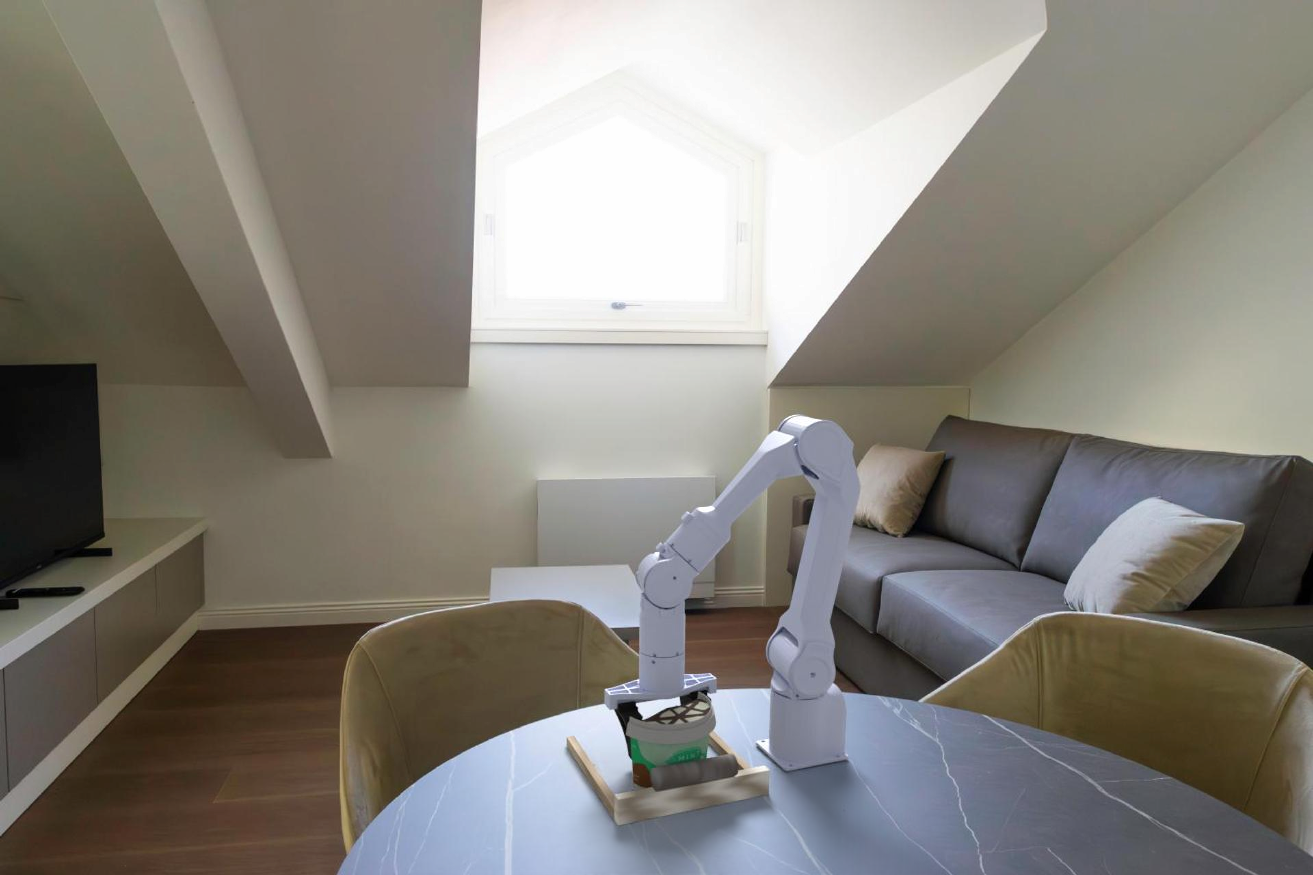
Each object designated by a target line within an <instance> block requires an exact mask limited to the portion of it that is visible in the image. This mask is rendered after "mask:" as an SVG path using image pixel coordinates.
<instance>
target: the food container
mask: <svg viewBox="0 0 1313 875" xmlns="http://www.w3.org/2000/svg"><path fill="white" fill-rule="evenodd" d="M707 696H708V695H707ZM707 696H705V695H704V694H702V693H700V692H698V698H697V700H694V701H692V702H690V703H687V704H684V705H680V704H679V705H675V706H670V707H665V708H664V709H662V710H659V712H656V713H654V714H653V715H651V716H649V717H647V718H644V719H642V720H641V721H640V720H637V719H634V718H632V717H630V720H629V722H628V725H627V731H626V735H627V736H629V737H630V738H631V754H632V760H631V766H632V768H631V769H632V783H633V784H632V785H633V791H635V790H640V789H645V788H650V787H652V784H651V778H650V772H651V769H652V768H656V767H662V766H667V765H673V764H678V763H684V762H689V761H695V760H700V759H705V758H708V757H707V756H708V750H709V743H708V741H709V734H710V733H711V732H712V731H714V730H715V729H716V725H717V719H716V714H715V708H714V705H712V704H713V703H712V700H711V701H710V699H709V698H708V697H709V696H708V697H707Z"/></svg>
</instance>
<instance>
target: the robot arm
mask: <svg viewBox="0 0 1313 875" xmlns="http://www.w3.org/2000/svg"><path fill="white" fill-rule="evenodd" d="M854 445H855V444H854V442H853V441H852V440H851V439H850V437H849V436H848V434H846V432H845V431H844V430H843V428H841V426H840V425H839V424H837V423H836V422H834V421H831V420H829V419H828V420H827V419H818V418H813V417H810V416H808V415H804V414H793V415H790V416H788V417H786V418H785V419H783V420H782V421H781V422H780V424H779V425H778V427H777V428H776V430H773V431H771V432H770V433H769V434H767V436H766V437H765V439H764V440H763V442H762V443H761V444H760V446H759V447H758V449H757V450H756V451H755V452H754V454H753V455H752V456H751V457H750V459H749V460H747V462H746V463H745V465H744V466H743V467H742V468H741V470H739V472H738V473H737V474H736V475H735V477H733V479H732V480H731V481H730V483H729V484H727V486H726V488H725V489H724V490H723V491H722V492H721V493H720V495H719V496H718V497H717V498H716V499H715V500H714V502H713V503H712V505H709V506H702V507H696V508H695V509H694V510H693V511H692V512H691V513H690V512H689V511H685V512H684V514H682V516H681V517H680V520H681V521H682V523H681V524H680V525H679V526H678V528H676V529H675V531H673V533H672V534H671V535H670V536H669V537H668V538H667V539H666V541H665V542H663V543H662V542H659V543H658V544H657V545H656V546H655V550H656V552H654V553H649V554H647V555H646V556H645V557H644V558H642V561H641V562H640V563H639V565H638V567H637V569H638V570H637V571H636V572H635V573H634V576H635V581H636V583H637V586H638V587H639V589H640V590H641V593H640V603H639V604H640V606H639V608H640V612H639V620H638V621H639V627H638V628H639V631H638V632H639V636H638V637H639V640H638V643H639V646H638V647H639V648H638V649H639V650H638V653H639V654H638V657H639V659H638V678H637V679H635V680H632V681H629V682H625V683H623V684H619V685H617V686H613V687H609V688H604V699H603V700H604V705H605V706H606V707H607V709H608V710H609V711H612V710H613V711H614V713H615V715H616V717H617V719H618V722H619V725H620V726H621V730H622V733H623V736H624V740H625V744H626V748H627V749H626V750H627V756H628V757H629V759H630V760H631V761H632V754H631V738H630V737H629V736H627V735H626V731H627V725H628V722H629V720H630V717H632V718H634V719H637V720H640V721H641V720H644V719H643V718H644V716H643V715H642V713H640V711H639V706H638V705H637V704H640V703H647V702H652V701H653V702H654V701H659V700H660V701H661V700H670V699H676V698H679V706H680V705H684V704H687V703H690V702H692V701H694V700H697V698H698V692H700V693H702V694H704V695H705V696H707V697H708V698H709V699H710V701H711V702H712V698H711V697H710V696H709V695H711V694H717V691H718V690H717V689H718V688H717V683H718V680H717V679H718V678H717V677H716V676H714V675H712V673H698V674H693V673H691V674H689V673H688V674H687V673H685V672H686V671H685V668H686V667H685V662H686V661H685V659H686V656H685V655H686V654H685V653H686V651H685V650H686V647H685V645H686V613H685V608H686V606H685V604H686V603H685V600H687V599H689V597H690V595H691V593H692V590H693V580H694V578H696V577H697V576H699V575H700V573H701V572H702V571H703V570H704V569H705V567H707V565H708V564H709V563H710V562H711V561H712V560H713V559H714V558H715V557H716V555H718V553H720V551H721V550H722V549H723V548H724V547H725V546H726V545H727V543H729V541H730V540H731V536H732V535H731V534H732V533H731V531H732V530H731V528H732V524H733V523H734V522H735V520H737V519H738V518H739V516H741V515H742V514H743V513H744V512H745V511H746V510H747V509H748V508H749V507H750V506H751V505H752V504H753V503H754V502H755V501H756V500H757V499H758V498H759V497H760V496H761V495H762V494H763V493H764V492H765V491H766V490H767V489H768V488H769V487H770V486H771V485H772V484H773V483H775V481H777V480H781V479H786V478H792V477H799V476H804V477H805V479H806V480H807V481H808V483H809V484H810V486H811V487H812V489H813V490H814V492H815V496H814V501H813V505H812V510H811V513H810V517H809V522H808V526H807V531H806V536H805V539H804V542H803V543H804V545H803V549H802V552H801V557H800V561H799V565H798V570H797V576H796V577H795V578H796V579H795V582H794V587H793V592H792V596H791V601H790V606H789V608H788V609H787V611H785V612H784V613H783V614H782V615H781V616H780V617H779V620H778V624H777V627H776V629H775V631H774V632H773V634H772V635H771V636H770V637H769V639H768V641H767V643H766V646H765V655H766V659H767V662H768V664H769V665H770V667H772V668H773V674H772V677H771V680H770V694H769V695H770V698H769V699H770V701H769V703H770V704H769V705H770V706H769V730H768V732H769V733H768V734H769V735H768V738H766V739H759V740H756V741H755V745H756V746H757V747H758V748H759V749H760V750H761V751H762V752H763V753H765V754H766V755H767V756H768V757H769V758H770V759H771V760H772V761H774V762H775V763H776V764H777V765H778V766H780V768H781V769H783V771H787V772H790V771H795V770H800V769H805V768H810V767H816V766H820V765H825V764H830V763H831V764H832V763H836V762H840V761H845V760H848V759H849V754H847V753H846V748H845V747H846V734H847V733H846V729H847V705H846V700H845V698H844V695H843V693H842V691H841V689H840V688H839V687H838V685H837V684H835V683H834V682H835V678H836V673H837V672H836V665H835V662H834V651H835V648H836V642H835V637H834V633H833V630H832V626H831V618H832V614H833V609H834V604H835V601H836V597H837V593H838V588H839V584H840V580H841V575H842V570H843V568H844V562H845V558H846V554H847V550H848V546H849V542H850V541H849V540H850V537H851V534H852V529H853V524H854V520H855V516H856V511H857V507H858V503H859V499H860V493H861V486H862V485H861V481H860V477H859V473H858V470H857V467H856V462H855V458H854V455H853V452H854V451H853V450H854ZM708 694H709V695H708Z"/></svg>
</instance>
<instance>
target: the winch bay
mask: <svg viewBox="0 0 1313 875" xmlns="http://www.w3.org/2000/svg"><path fill="white" fill-rule="evenodd" d="M708 745H710V746H711V747H712V748H713V749H714V750H715V751H716V752H717V753H718V754H719V755H717V756H711V757H707V758H705V759H700V760H695V761H689V762H684V763H678V764H673V765H667V766H662V767H656V768H652V769H651V772H650V778H651V784H652V787H650V788H645V789H640V790H635V791H634V790H630V791H625V792H620V793H619V792H618V793H615V794H614V792H612V790H611V788H610V786H609V785H608V784H607V782H606V781H605V779H604V778H603V776H602V775H601V773H600V772H599V770H598V769H597V767H595V765H594V763H593V761H592V760H591V758H590V757H589V755H588V754H587V753H586V751H585V750H584V748H583V746H581V743H580V742H579V741H578V740H577V738H576V737H575V735H571V736H566V747H567V748H568V750H569V752H570V753H571V755H572V756H573V758H574V759H575V761H576V762H577V765H578V766H579V767H580V768H581V770H582V772H583V774H584V775H585V777H586V778H587V780H588V781H589V783H590V784H591V786H592V788H593V789H594V791H595V792H596V794H597V795H598V797H599V798H600V800H601V801H602V803H603V804H604V807H605V808H606V810H607V811H608V813H609V814H610V816H611V818H612V819H613V821H614V822H615V824H616V825H617V826H623V825H627V824H631V823H637V822H641V821H646V820H651V819H656V818H662V817H665V816H670V815H676V814H680V813H685V812H689V811H696V810H700V809H704V808H708V807H713V806H718V805H724V804H729V803H734V802H738V801H743V800H748V799H753V798H758V797H761V796H762V797H763V796H768V795H770V775H771V773H770V772H771V771H770V769H769V768H768V766H766V765H760V766H755V767H751V766H750V765H749V764H748V763H747V762H746V760H744V759H743V758H742V756H740V755H739V754H738V753H737V752H736V751H735V750H733V748H732V747H730V746H729V744H728V743H726V742H725V741H724V740H723V739H722V738H721V737H720V736H719V735H718V734H717V733H716V731H714V730H713V731H712V732H711V733H710V734H709V741H708Z"/></svg>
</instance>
